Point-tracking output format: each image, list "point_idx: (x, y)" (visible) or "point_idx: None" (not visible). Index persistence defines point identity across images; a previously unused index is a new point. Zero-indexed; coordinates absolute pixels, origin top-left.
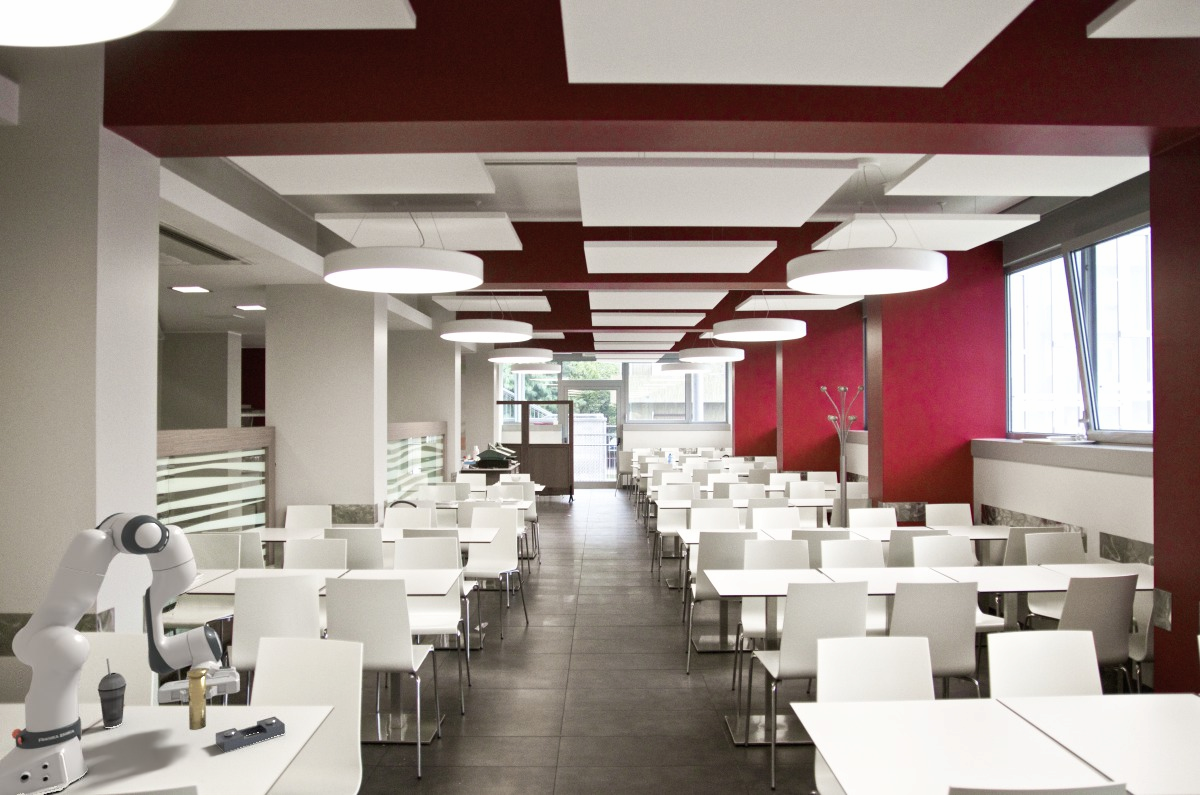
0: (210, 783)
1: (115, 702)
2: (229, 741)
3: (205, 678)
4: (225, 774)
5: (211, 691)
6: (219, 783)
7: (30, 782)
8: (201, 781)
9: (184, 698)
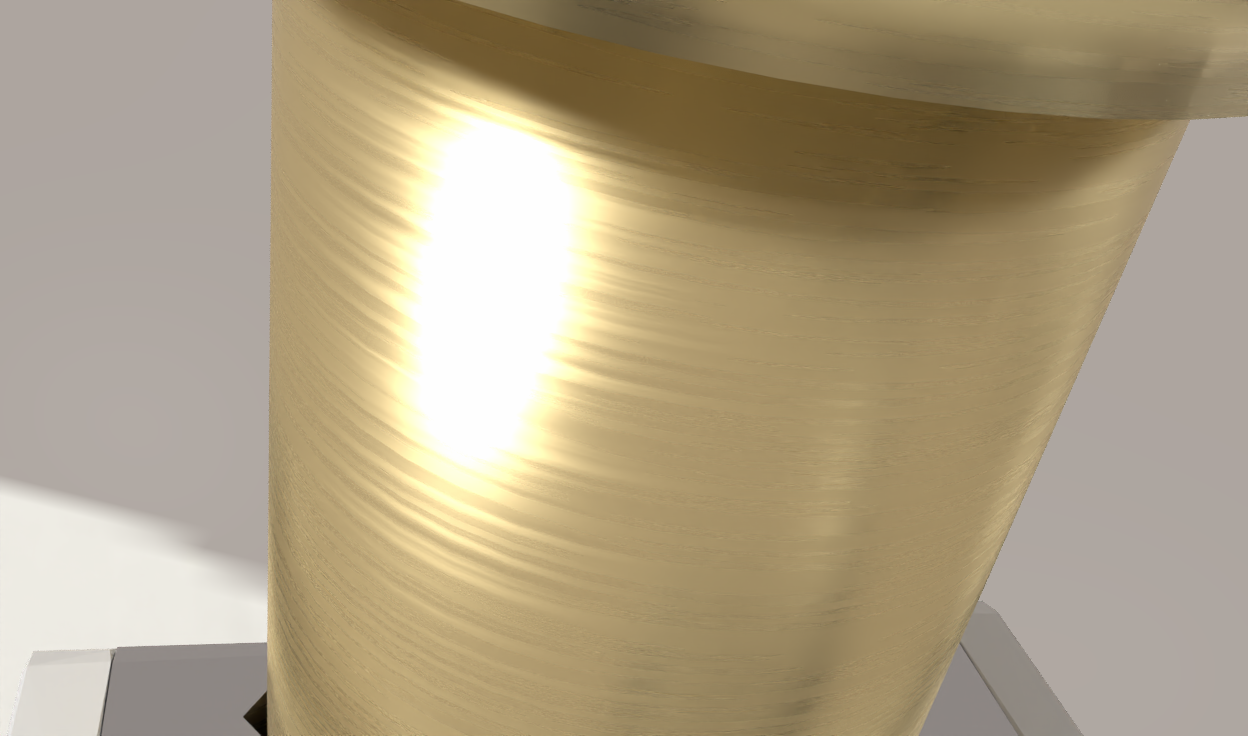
0: (164, 561)
1: None
2: None
3: (272, 176)
4: (9, 673)
5: (12, 730)
6: (84, 537)
7: None
8: (250, 619)
9: None
